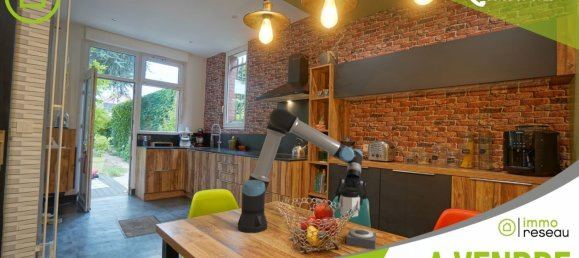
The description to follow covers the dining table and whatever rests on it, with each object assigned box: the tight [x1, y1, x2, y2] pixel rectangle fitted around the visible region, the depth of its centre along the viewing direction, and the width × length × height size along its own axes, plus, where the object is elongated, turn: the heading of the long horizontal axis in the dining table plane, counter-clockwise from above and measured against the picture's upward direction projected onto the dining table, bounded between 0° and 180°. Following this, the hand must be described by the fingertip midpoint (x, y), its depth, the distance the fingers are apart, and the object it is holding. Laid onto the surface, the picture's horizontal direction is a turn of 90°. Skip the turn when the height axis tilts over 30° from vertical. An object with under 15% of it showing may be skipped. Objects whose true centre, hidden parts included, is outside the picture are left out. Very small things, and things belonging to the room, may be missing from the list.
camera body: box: [345, 228, 377, 250], centre depth 122 cm, size 12×11×4 cm
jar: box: [339, 188, 359, 218], centre depth 136 cm, size 9×8×12 cm
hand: (348, 208), depth 133 cm, fingers closed on jar, 8 cm apart
